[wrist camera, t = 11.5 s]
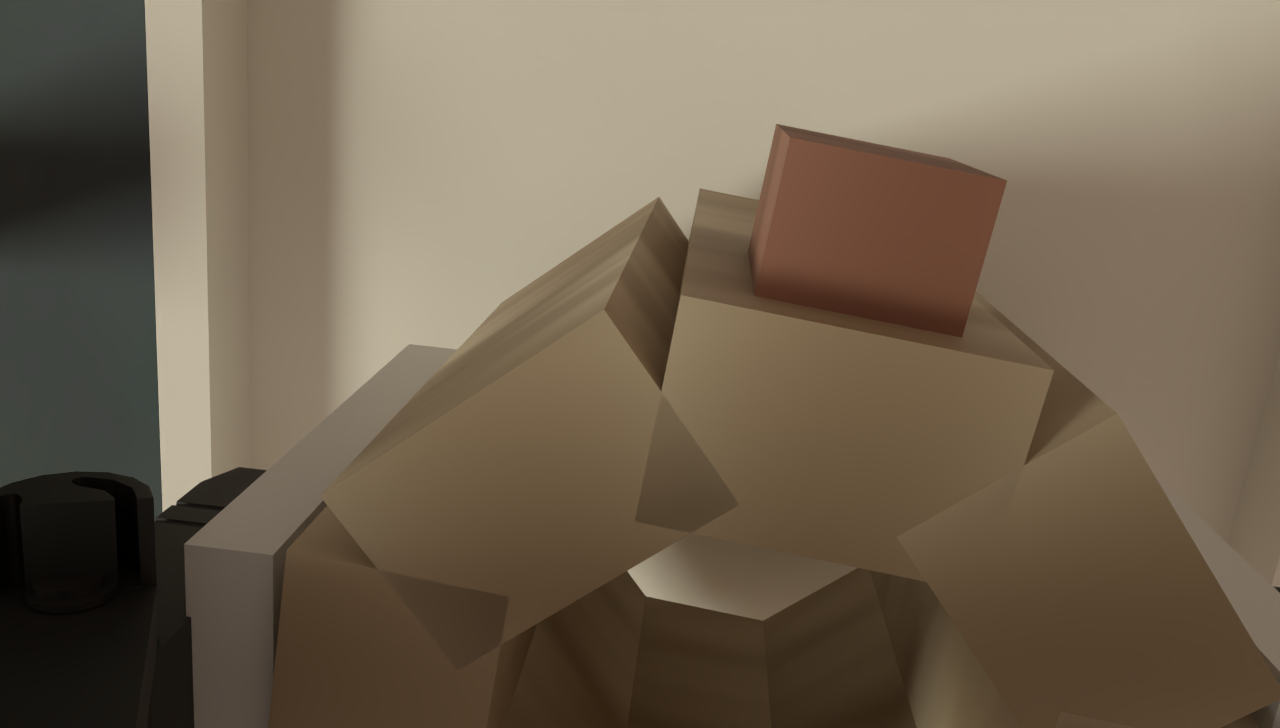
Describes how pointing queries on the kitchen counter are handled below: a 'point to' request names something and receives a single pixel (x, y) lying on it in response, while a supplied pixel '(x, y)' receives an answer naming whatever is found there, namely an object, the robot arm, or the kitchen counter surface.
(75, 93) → the kitchen counter surface
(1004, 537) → the ring
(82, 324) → the kitchen counter surface
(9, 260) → the kitchen counter surface
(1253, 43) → the tray
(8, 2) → the kitchen counter surface
